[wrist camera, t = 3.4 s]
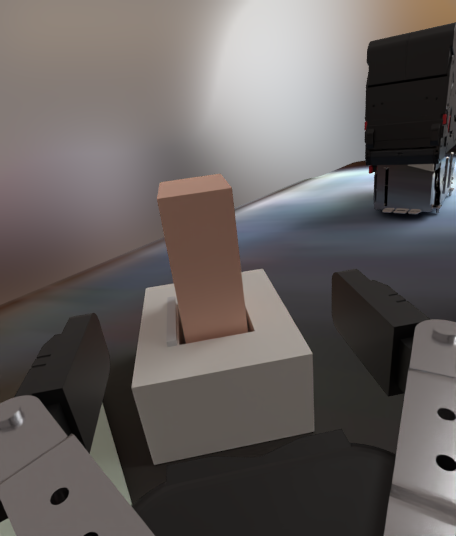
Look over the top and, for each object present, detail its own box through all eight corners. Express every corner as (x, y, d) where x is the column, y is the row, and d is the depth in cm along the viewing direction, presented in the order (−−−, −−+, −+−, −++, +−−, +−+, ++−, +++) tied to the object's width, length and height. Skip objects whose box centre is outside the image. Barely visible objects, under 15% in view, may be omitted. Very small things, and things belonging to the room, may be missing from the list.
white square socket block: (159, 346, 32) (145, 284, 30) (267, 327, 33) (262, 264, 31) (153, 465, 22) (129, 382, 19) (314, 431, 22) (312, 347, 20)
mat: (96, 381, 29) (94, 376, 29) (134, 511, 19) (131, 504, 19) (-33, 434, 26) (-36, 427, 25) (-69, 625, 16) (-75, 618, 15)
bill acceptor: (458, 188, 67) (481, 32, 57) (432, 226, 52) (457, 19, 41) (398, 186, 74) (409, 46, 64) (359, 220, 58) (365, 39, 48)
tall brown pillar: (193, 355, 29) (159, 182, 23) (241, 346, 29) (220, 173, 24) (197, 400, 25) (156, 198, 19) (254, 389, 25) (231, 187, 19)
